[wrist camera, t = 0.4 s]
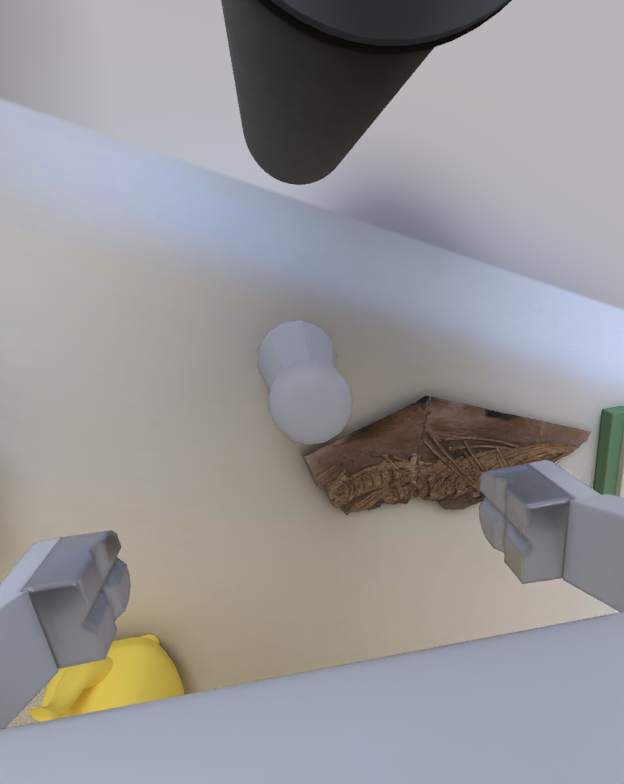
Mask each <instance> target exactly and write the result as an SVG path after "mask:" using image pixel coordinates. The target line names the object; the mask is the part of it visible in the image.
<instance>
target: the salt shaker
mask: <svg viewBox="0 0 624 784" xmlns="http://www.w3.org/2000/svg"><path fill="white" fill-rule="evenodd" d="M336 360H337V354H336V350H335V347H334V344H333V341H332V338H331V337H330V336H329V335H327V334H326V333H325V332H324V331H323V330H322V329H321V328H320V327H319V326H317V325H314V324H311V323H308V322H306V321H303V320H298V321H291V322H283V323H282V324H280V325H279V326H277V327H276V328H274V329H272V330H271V331H269V332H268V333H267V335H266V337H265V338H264V340H263V342H262V343H261V345H260V347H259V349H258V362H257V367H258V369H259V372H260V374H261V377H262V379H263V381H264V383H265V384H266V385H267V386H268V388H269V389H270V400H269V411H270V413H271V416H272V418H273V420H274V423H275V425H276V427H277V428H278V430H280V431H281V432H282V433H283V434H284V435H285V436H286V437H288V438H289V439H290V440H291V441H295V442H299V443H303V444H307V445H309V444H316V443H324V442H326V441H328V440H330V439H331V438H333V437H334V436H336V435H337V434H339V433H340V432H341V431H342V429H343V428H344V427H345V425H346V424H347V422H348V421H349V419H350V416H351V409H352V395H351V392H350V389H349V386H348V383H347V380H346V379H345V378H344V377H343V376H342V375H341V374H340V373H339V372H338V371H337V370H336Z"/></svg>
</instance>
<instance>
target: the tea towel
mask: <svg viewBox="0 0 624 784" xmlns="http://www.w3.org/2000/svg"><path fill="white" fill-rule="evenodd" d="M594 490H595V491H596V492H598V493H599V494H601V495H603V494H611V495H615V496H618V497H622V498H624V406H620V407H613V408H607V409H603V411H602V420H601V430H600V439H599V448H598V457H597V466H596V475H595V484H594Z"/></svg>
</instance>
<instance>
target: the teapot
mask: <svg viewBox="0 0 624 784" xmlns="http://www.w3.org/2000/svg"><path fill="white" fill-rule="evenodd" d="M58 670H59V672H58V673H57V674H56V675H55V676H54V677H53V678H52V679H51V680H50V681H49V683H48V686H47V689H46V691H45V694H44V697H43V700H42V704H41V707H37V708H33V709H31V710H30V714H31V716H32V717H33V718H34V719H36V720H38V722H42V721H48V720H53V719H58V718H64V717H69V716H74V715H80V714H85V713H90V712H95V711H101V710H106V709H111V708H117V707H122V706H127V705H133V704H138V703H143V702H149V701H154V700H159V699H164V698H170V697H175V696H180V695H185V692H184V688H183V685H182V681H181V679H180V676H179V673H178V671H177V669H176V667H175V665H174V663H173V661H172V660H171V658H170V657H169V656H168V654H167V653H166V652H165V650H164V649H163V648H162V647H161V646H160V641H159V639H158V638H157V637H156V636H154V635H150V634H146V635H143V636H141V637H133V638H126V639H121V640H116V641H112V644H111V646H110V649H109V651H108V654H107V656H106V659H104V660H99V661H94V662H90V663H85V664H80V665H75V666H71V667H66V668H61V669H58Z"/></svg>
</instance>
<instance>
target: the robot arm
mask: <svg viewBox="0 0 624 784" xmlns="http://www.w3.org/2000/svg"><path fill="white" fill-rule="evenodd" d="M479 489H480V490H481V492H482V493H483V494H484V495H485V496H486V497H485V498H484V500H483V501H482V503H481V504H480V506H479V519H480V523H481V527H482V530H483V533H484V535H485V537H486V539H487V540H488V542H489V543H490V544H491V546H492V547H493V548H495V549H497V550H499V551H501V552H504V553H505V558H504V562H505V563H506V564H507V565H508V567H509V568H510V569H511V570H512V572H513V573H514V574H515V575H516V576H517V578H518V579H519V580H520V581H521V583H522V584H526V583H532V582H539V581H546V580H552V579H559V578H563V580H564V581H566V582H568V583H570V584H571V585H573V586H575V587H577V588H578V589H580V590H582V591H584V592H586V593H587V594H589V595H591V596H593V597H594V598H596V599H598V600H600V601H602V602H603V603H605V604H607V605H609V606H610V607H612V608H614V609H616V610H618V611H619V612H620V613H615V614H610V615H604V616H599V617H594V618H588V619H583V620H578V621H572V622H567V623H562V624H556V625H551V626H546V627H540V628H535V629H530V630H524V631H519V632H514V633H509V634H503V635H498V636H493V637H487V638H482V639H477V640H471V641H466V642H461V643H455V644H450V645H445V646H439V647H434V648H429V649H423V650H418V651H413V652H408V653H402V654H397V655H392V656H386V657H381V658H376V659H371V660H366V661H360V662H355V663H350V664H345V665H339V666H334V667H329V668H324V669H318V670H313V671H308V672H303V673H297V674H292V675H287V676H281V677H276V678H271V679H265V680H260V681H255V682H249V683H244V684H239V685H234V686H228V687H223V688H218V689H212V690H207V691H202V692H196V693H191V694H186V695H180V696H175V697H170V698H164V699H159V700H154V701H149V702H143V703H138V704H133V705H127V706H122V707H117V708H111V709H106V710H101V711H95V712H90V713H85V714H80V715H74V716H69V717H64V718H58V719H53V720H48V721H42V722H37V723H32V724H26V725H21V726H16V727H11V728H6V727H7V725H8V724H9V723H10V722H11V721H12V720H13V719H14V718H15V717H16V716H17V715H18V714H19V713H20V712H21V711H22V710H23V709H24V708H25V707H26V705H27V704H28V703H29V702H30V701H31V700H32V699H33V698H34V697H35V696H36V695H37V694H38V693H39V692H40V691H41V690H42V689H43V688H44V687H45V685H46V684H47V683H48V682H49V681H50V680H51V679H52V678H53V677H54V676H55V675H56V674H57V673H58V672H59V670H58V669H61V668H66V667H71V666H75V665H80V664H85V663H90V662H94V661H99V660H104V659H106V656H107V654H108V651H109V649H110V646H111V644H112V641H113V639H114V636H115V634H116V632H117V627H116V624H115V620H116V619H117V618H118V617H119V616H120V615H121V614H122V613H123V612H125V609H126V606H127V604H128V601H129V595H130V586H131V585H130V575H129V571H128V568H127V564H125V563H124V562H123V561H121V560H120V559H119V558H117V555H118V553H119V551H120V549H121V544H120V542H119V539H118V536H117V534H116V533H115V532H113V531H112V530H111V531H104V532H97V533H90V534H82V535H75V536H68V537H64V538H63V537H59V538H54V539H48V540H42V541H39V542H36V543H34V544H33V545H32V546H31V548H30V549H29V550H28V551H27V552H26V554H25V555H24V556H23V557H22V558H21V559H20V561H19V562H18V563H17V564H16V565H15V567H14V568H13V569H12V570H11V571H10V573H9V574H8V575H7V576H6V577H5V579H4V580H3V581H2V582H1V583H0V784H624V498H622V497H618V496H615V495H611V494H603V495H601V494H599V493H598V492H596V491H595V490H593V489H592V488H590V487H589V486H587V485H586V484H584V483H583V482H581V481H580V480H578V479H577V478H576V477H574V476H573V475H571V474H570V473H568V472H567V471H565V470H564V469H562V468H561V467H559V466H558V465H556V464H555V463H553V462H552V461H548V460H543V461H538V462H533V463H528V464H523V465H517V466H512V467H507V468H501V469H496V470H491V471H486V472H482V473H481V476H480V480H479Z"/></svg>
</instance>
